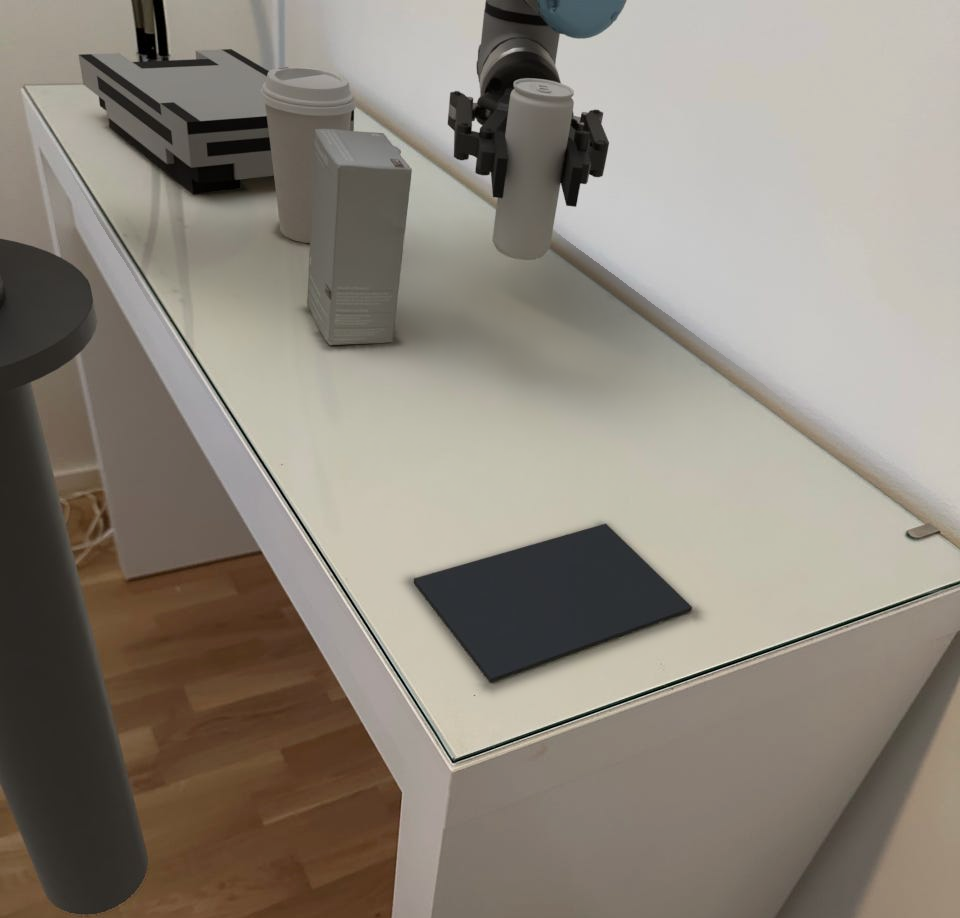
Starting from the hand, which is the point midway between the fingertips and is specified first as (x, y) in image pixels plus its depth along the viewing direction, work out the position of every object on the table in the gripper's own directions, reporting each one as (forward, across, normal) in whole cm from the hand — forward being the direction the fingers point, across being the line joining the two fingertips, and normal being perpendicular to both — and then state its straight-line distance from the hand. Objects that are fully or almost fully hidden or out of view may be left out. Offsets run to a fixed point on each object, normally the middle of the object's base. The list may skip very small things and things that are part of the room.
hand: (537, 182), depth 67 cm
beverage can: (-5, 0, -7) cm, 9 cm away
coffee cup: (-33, +20, -18) cm, 42 cm away
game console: (-57, +35, -18) cm, 69 cm away
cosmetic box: (-11, +14, -18) cm, 25 cm away
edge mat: (+26, -2, -18) cm, 31 cm away
